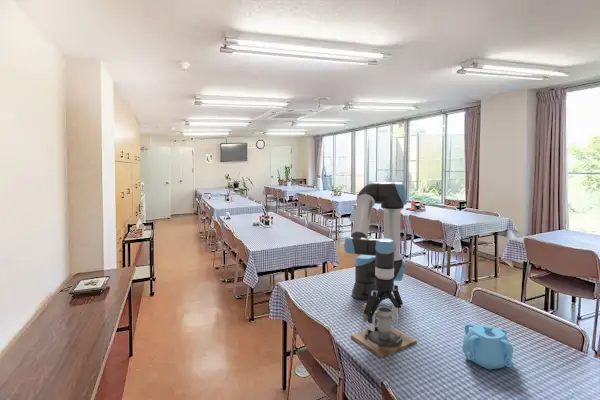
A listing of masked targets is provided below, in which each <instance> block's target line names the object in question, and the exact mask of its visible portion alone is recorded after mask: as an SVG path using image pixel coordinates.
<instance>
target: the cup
mask: <svg viewBox="0 0 600 400" xmlns="http://www.w3.org/2000/svg"><path fill="white" fill-rule="evenodd" d="M376 313H377V314H378V315H377V318H376V320H377V325H378V335H379V338H381V339H383V340H387V339H389V338H390V330H391V327H392V322H393V321H392V315H393V312H392V307H391V308H390V307H389V306H378V307H377V309H376Z"/></svg>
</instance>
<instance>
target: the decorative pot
mask: <svg viewBox="0 0 600 400" xmlns="http://www.w3.org/2000/svg"><path fill="white" fill-rule="evenodd" d="M464 332H465V336H464V337H463V342H462V351H463V353H464V355H465V356H466V359H467V360H469V361H472V362H473V363H475V364H477V365H478V366H480V367H483V368H484V369H487V370H493V369H495V370H496V369H501V368H504V367H508V368H513V366H514V363H513V352H514V347H513V345H512V344H511V343H510V340H509V339H508V335H507V334H508V333H507V331H506V330H505V329H504V328H502V327H498V328H497V327H494V326H492V325H490V324H478V325H476V324H474V323H467V324H466V325H465V326H464Z"/></svg>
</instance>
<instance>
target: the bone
mask: <svg viewBox="0 0 600 400" xmlns="http://www.w3.org/2000/svg"><path fill="white" fill-rule="evenodd" d="M366 304H367V302H365V303H364V304H363V312H362V315H363V319H364V320H368V315H366V314H364V310H365V307H366ZM376 311H377V310H376ZM376 311H375V313H374V316H375V321H376V320H377V315H378V314H377V313H376Z"/></svg>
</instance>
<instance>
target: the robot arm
mask: <svg viewBox="0 0 600 400" xmlns="http://www.w3.org/2000/svg"><path fill="white" fill-rule="evenodd" d="M355 200H356V203H355V204H356V211H355V214H354V220H353V224H352V225H353V226H352V228H351V229H352V230H351V234H350V236H346V237H345V239H344V241H343V243H344V247H343V249H344V252H345V254H350V255H358V256H356V258H355V263H354V265H355V268H354V269H355V270H354V271H355V272H354V273H355V274H354V276H355V278H354V279H355V280H354V285H353V287H352V290H351V297H353V298H354V299H356V300H360V301H367V302H366V303H367V304H366V307H365V310H364V309H363V311H364V314H366V315H368V319H367V323H368V328H369V330H371V331H373V332H374V331H375V326H376V325H375V321H376V320H375V316H374V313H375V311H377V309H378V308H379V307H380V303H382V302H383V301H384V300H387V299H389V301H390V302H391V304H392V306H391V309H392V312H393V315H392V321H391V322H393V323H396V324H398V322H399V313H400V309H401V308H402V306H403V304H404V302H403V300H402V298H401V295H400V292H399V287H398V285H396V284H395V281H396V282H401V281H402V280H403V278H404V275H405V268H406V267H405V266H406V260H405V259H404V258H403V255H402V254H401V253H400V252H401V218H402V217H401V213H402V212H401V211H403V209H405V205H407V202H408V201H407V192H406V185H405V184H404V183H403V182H399V181H373V182H370V183H367V184H365V186H363V187H362V189H360V190H359V192H358V194H357V196H356V199H355ZM376 204H377V205H380V208H381V209H382V210H383V238H373V237H371V238H369V237H368V235H369V230H370V224H371V217H372V211H373V207H374V206H375V205H376Z"/></svg>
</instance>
